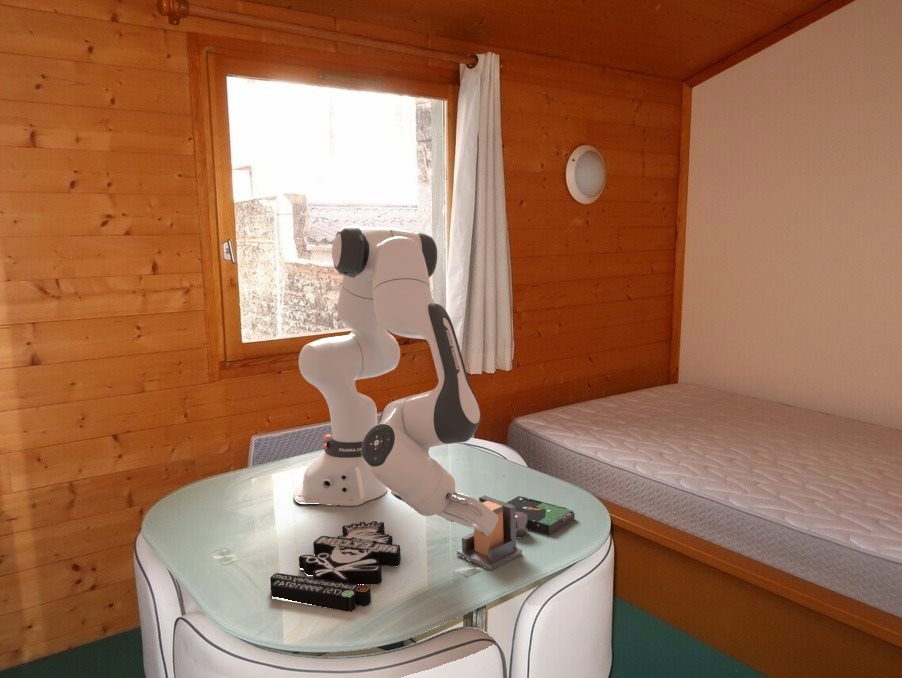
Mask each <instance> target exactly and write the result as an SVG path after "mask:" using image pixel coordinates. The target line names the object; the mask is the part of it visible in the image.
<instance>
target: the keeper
mask: <svg viewBox="0 0 902 678" xmlns="http://www.w3.org/2000/svg"><path fill="white" fill-rule="evenodd" d="M478 501H480V502H481V503H483V502H486V501H490V502H493V503H496V504H498V505H501V506H503V542H501V543H499V544H497V545H495V546H493V547H491V548H489V549H488V556H487V555H484V554H482V553H479V552H477V551H475V546H474V532H472V533H470V534H467V535H466V536H463V537H461V548H460V549H457V551H456V556H457V555H459V556H461V557H464V558H465V559H464V560H466V559H468V560H470V561H472V562H474V563H473V564H475V563H476V564H475V565H477V564H478V565H477V566H479V565H480V566H479V567H481V566H483V567H482V568H484V567H485V568H484V569H486V568H487V570H488V569H489V570H488V571H490V570H491V571H492V569H493V570H494V568H495V569H497V568H498V566H499V567H500V565H501V566H502V564H503V565H504V563H505V564H506V562H507V563H508V562H510V561H512V560H514V559H517V558H518V557H521V556H522V555H523V549H522V548H519V547H517V538H516V506H514V505H511V504H508V503H506V502H505V501H501V500H499V499H497V498H496V499H495V498H492V497H490V496H487V495H481V496H480V497H478ZM459 556H458V557H459ZM461 557H460V558H461ZM468 560H467V561H468ZM470 561H469V562H470ZM472 562H471V563H472ZM496 567H497V568H496Z"/></svg>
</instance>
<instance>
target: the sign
mask: <svg viewBox="0 0 902 678" xmlns="http://www.w3.org/2000/svg"><path fill="white" fill-rule="evenodd" d="M341 529H342V535H338V536H336V537H335V536H327V535H321V536H319V537H318V538H317V539H315V540H314V541H313V544H312V545H313V554H302V555H299V556H298V565H299V566H298V567H300V568H303V569H304V571H303V573H304V572H305V573H306V574H308V575H313V577H308V576H302V575H294V574H293V575H292V574H289V573H287V574H286V573H278V572H277V573H274V574H272V575H271V576H270V578H269V579H270V594H271V595H270V596H273V597H279V598H284V599H288V600H292V601H297V602H301V603H307V604H312V605H316V606H315V607H317V606H321V607H320V608H323V607H327V608H326V609H330V608H331V610H337V611H342V612H345V613H346V612H351V613H352V612H353V611H354V610H355V609H356V608H357V606H359V605H361V606H360V607H367V606H369V605H370V604H371V602H372V595H371V594H372V593H371V586H370V585H366V584H377V585H380V584H381V583H382V581H383V579H382V566H385V565H387V566H388V567H393V566H398V565H399V566H400V564H401V559H402V558H401V556H402V555H401V545H400V544H393V535H390V534H385V533H386V532H385V522H383V521H382V522H378V521H376V520H375V521H373V520H372V521H371V522H368V523H367V522H365V521H361V522H359V523H354V522H353V523H351V524H349V525H343V526H342V528H341ZM314 554H315V556H314ZM399 566H398V567H399ZM380 582H381V583H380ZM379 583H380V584H379ZM358 584H359V585H358ZM360 584H361V585H360ZM362 584H364V585H362ZM369 603H370V604H369Z"/></svg>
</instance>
